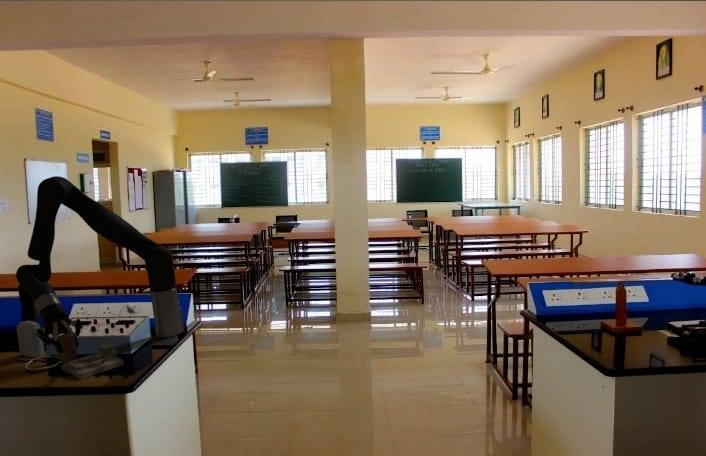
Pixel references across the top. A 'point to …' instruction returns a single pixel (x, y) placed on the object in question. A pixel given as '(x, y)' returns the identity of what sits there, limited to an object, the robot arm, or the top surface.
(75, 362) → the base board
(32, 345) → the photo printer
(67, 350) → the walnut block
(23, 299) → the portable radio
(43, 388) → the top surface
